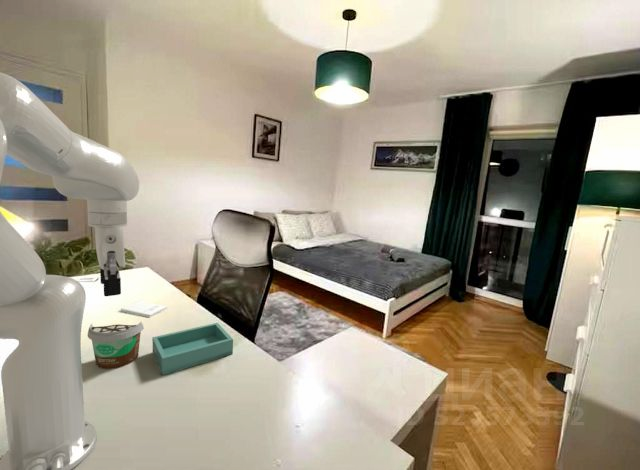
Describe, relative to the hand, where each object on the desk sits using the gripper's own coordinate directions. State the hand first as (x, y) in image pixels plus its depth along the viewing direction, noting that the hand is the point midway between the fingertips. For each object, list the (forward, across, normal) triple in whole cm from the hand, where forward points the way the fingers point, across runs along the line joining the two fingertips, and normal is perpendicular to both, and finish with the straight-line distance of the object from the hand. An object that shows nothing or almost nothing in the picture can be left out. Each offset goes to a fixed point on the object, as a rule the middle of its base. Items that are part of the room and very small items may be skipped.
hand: (110, 288), depth 74 cm
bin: (+20, -5, -18) cm, 28 cm away
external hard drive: (+21, +32, -12) cm, 40 cm away
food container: (+20, 0, 0) cm, 20 cm away
